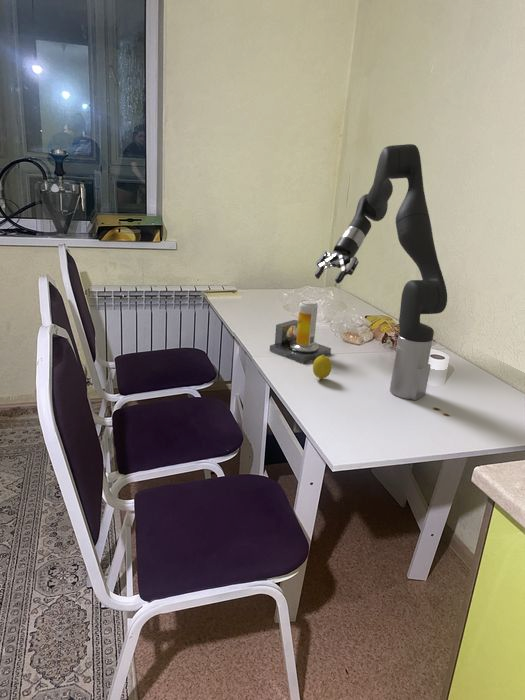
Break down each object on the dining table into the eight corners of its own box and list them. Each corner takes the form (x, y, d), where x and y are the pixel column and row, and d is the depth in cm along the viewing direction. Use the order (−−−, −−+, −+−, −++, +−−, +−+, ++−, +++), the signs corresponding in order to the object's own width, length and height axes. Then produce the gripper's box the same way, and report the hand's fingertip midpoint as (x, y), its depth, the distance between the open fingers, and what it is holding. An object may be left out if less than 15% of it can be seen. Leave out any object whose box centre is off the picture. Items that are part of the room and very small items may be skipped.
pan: (324, 348, 169) (324, 345, 169) (306, 354, 162) (306, 351, 162) (302, 340, 176) (302, 337, 175) (283, 346, 169) (283, 343, 168)
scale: (330, 353, 171) (333, 328, 168) (303, 363, 161) (305, 337, 158) (297, 341, 181) (299, 318, 177) (269, 350, 170) (271, 326, 167)
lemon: (329, 384, 147) (332, 359, 144) (310, 381, 148) (313, 356, 145) (330, 377, 152) (333, 352, 149) (312, 374, 153) (315, 350, 150)
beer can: (302, 340, 173) (306, 298, 167) (317, 344, 169) (321, 302, 164) (292, 344, 168) (296, 301, 163) (307, 348, 165) (311, 305, 159)
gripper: (329, 233, 173) (305, 268, 169) (363, 238, 164) (340, 276, 160) (336, 247, 179) (314, 282, 175) (370, 253, 170) (347, 290, 166)
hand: (326, 279), depth 167 cm, fingers open, 8 cm apart
